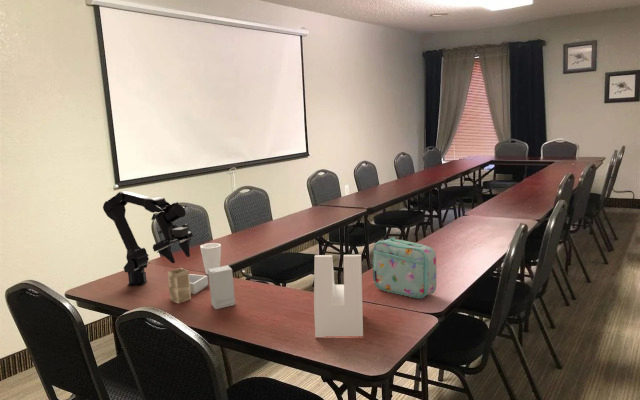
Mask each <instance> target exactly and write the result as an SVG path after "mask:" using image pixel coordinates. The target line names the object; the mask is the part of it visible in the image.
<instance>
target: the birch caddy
mask: <svg viewBox="0 0 640 400" xmlns="http://www.w3.org/2000/svg"><path fill="white" fill-rule="evenodd" d="M189 274H190V272H189V270H188V269H185V268H183V267H180V268H176V269H171V270H169V271H167V277H168V278H167V279H168V291H169V292H168V293H169V300H170V301H171V302H173V303H176V304H181V303H184V302H186V301H189V300H192V294H191V293H190V281H189Z"/></svg>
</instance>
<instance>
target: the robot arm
mask: <svg viewBox="0 0 640 400" xmlns="http://www.w3.org/2000/svg"><path fill="white" fill-rule="evenodd" d="M127 204H133V205H137V206H139V207H143V208H144V210H146V211H148V212H150V213H153V214H152V217H151V218H150V219H151V221H154V220H155V221H156V223H157V225H158V228H159V231H158V232H159V234H160V235H162V236H163V240H160V241H158V242H156V243H154V244H153V245H152V249H153V252H154V253H155V252H156V253H159V254H161V255H162V256H163V257H164V258H166V259H167V260H168V261H169V262H171V263H172V264H175V263H176V260H175V258H174V255H173V253H172V250H171V249H172V244H175V243H178V246H179V248H180V249H181V250H182V252H183V253H184V255H185V256H186V257H187V258H190V256H191V253H190V242H191V240H192V238H193V237H194V236H193V233H192V231H191V228H190V226H189V223H184V224H182V225H181V226H180V227H178V225H177V224H175V223H174V222H177V221H178V220H180V219H182V218H184V217H185V216H186V213H187V212H186V209H185V208H184V206H183V205H182V204H179V202H178V201H175V202H173V203H170V202H168V201H167V200H166V198H165V197H163V196H148V195H143V194H140V193H139V194H138V193H136V192H131V191H129V190H123V191H119V192H118V193H116V194H115V195H114V196H113V197H111V198H109V199H108V200H106V201H105V202H104V203H103V205H102V210H103V212H104V213H105V215H106V216H107V217H108V218H109V219H110V220H111V221H113V223H114V225H115V227H116V229H117V231H118V233H119V236H120V238H121V240H122V243H123V244H124V246H125V249H126V257H125V258H126V264H125V265H124V266H123V270H124V272H125V273H127V275H128V276H127V277H128V283H127V286H142V285H143V284H145V283H146V282H147V281H148V279H147V274H146V271H145V269H147V268H148V263H149V260H150V258H149V256H150V255H149V254H148V253H147V249H146V248H145V247H140V246H139V244H138V242H137V240H136V238H135V236H134V235H135V234H133V231H132V229H131V227H130V225H129V222H128V220H127V218H126V205H127Z"/></svg>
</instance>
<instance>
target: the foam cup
mask: <svg viewBox="0 0 640 400" xmlns="http://www.w3.org/2000/svg"><path fill="white" fill-rule="evenodd" d="M199 247H200V253H201V258H202V262H203V267H204V270H205V271H204V272H205V274H206V276H209V275H208V269H212V268H217V267H221V254H222V244H221V243H219V242H218V243H217V242H209V243H204V244H201V245H200V246H199Z"/></svg>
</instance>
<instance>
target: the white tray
mask: <svg viewBox="0 0 640 400" xmlns="http://www.w3.org/2000/svg"><path fill="white" fill-rule="evenodd" d="M189 281H190V293H191V295H196V294H197V293H199V292H201V291H202V290H204V289H205V288H207V287H208V286H209V275H205V274H204V275H203V274H193V273H189Z"/></svg>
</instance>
